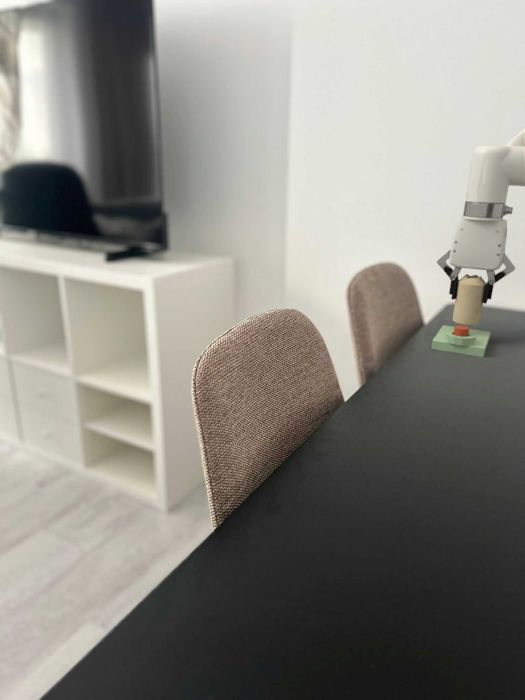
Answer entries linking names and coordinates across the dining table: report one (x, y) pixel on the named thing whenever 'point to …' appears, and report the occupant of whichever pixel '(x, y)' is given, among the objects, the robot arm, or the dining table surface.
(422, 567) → the dining table surface
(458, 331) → the power button
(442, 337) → the green stand
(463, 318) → the candle
